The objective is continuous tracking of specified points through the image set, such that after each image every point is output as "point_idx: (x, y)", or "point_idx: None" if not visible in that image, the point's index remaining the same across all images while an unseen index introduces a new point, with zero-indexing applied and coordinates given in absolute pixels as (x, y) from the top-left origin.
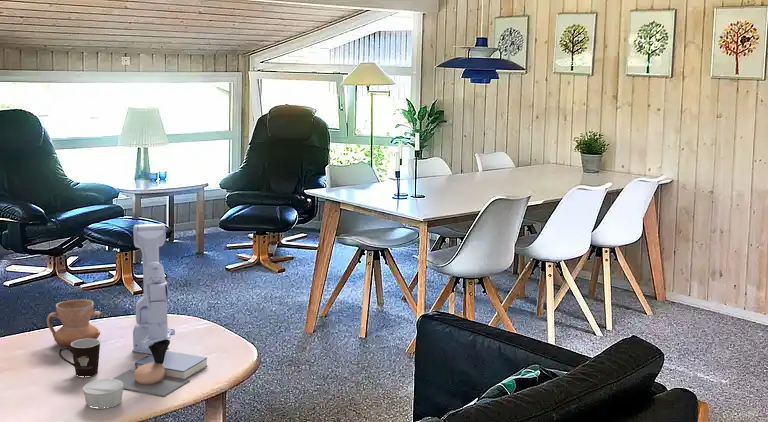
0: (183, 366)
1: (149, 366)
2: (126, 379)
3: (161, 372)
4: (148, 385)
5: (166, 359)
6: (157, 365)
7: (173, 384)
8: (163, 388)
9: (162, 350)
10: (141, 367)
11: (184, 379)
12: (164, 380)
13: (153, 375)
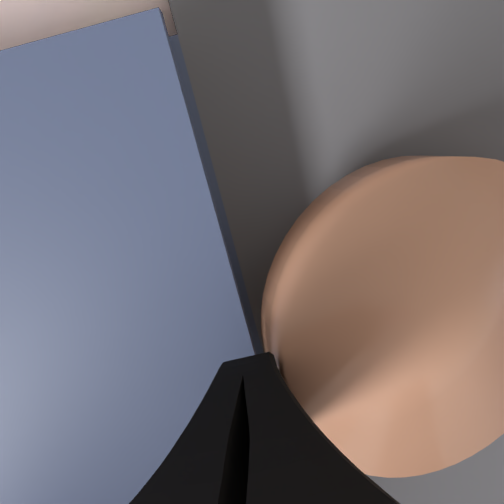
0: (53, 156)
1: (380, 403)
2: None
3: (416, 176)
4: None
5: (67, 458)
6: (327, 349)
7: (356, 4)
8: (500, 2)
9: (296, 495)
10: (426, 449)
11: (179, 21)
12: (326, 176)
13: (493, 213)
